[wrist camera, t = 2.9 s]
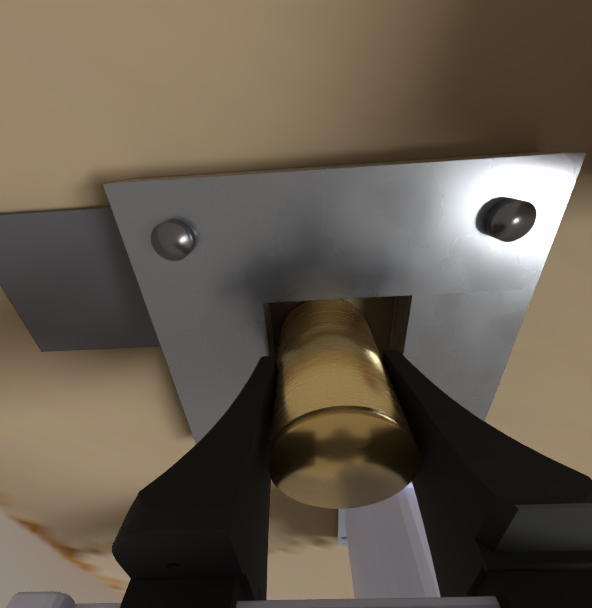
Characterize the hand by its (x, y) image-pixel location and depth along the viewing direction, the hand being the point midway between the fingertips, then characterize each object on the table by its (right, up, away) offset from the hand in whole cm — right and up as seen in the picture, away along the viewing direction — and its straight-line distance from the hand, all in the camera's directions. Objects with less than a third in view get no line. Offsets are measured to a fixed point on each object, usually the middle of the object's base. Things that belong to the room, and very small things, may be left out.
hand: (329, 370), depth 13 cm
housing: (0, +1, +2) cm, 3 cm away
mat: (-12, +4, +1) cm, 12 cm away
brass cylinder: (0, +1, +2) cm, 3 cm away
